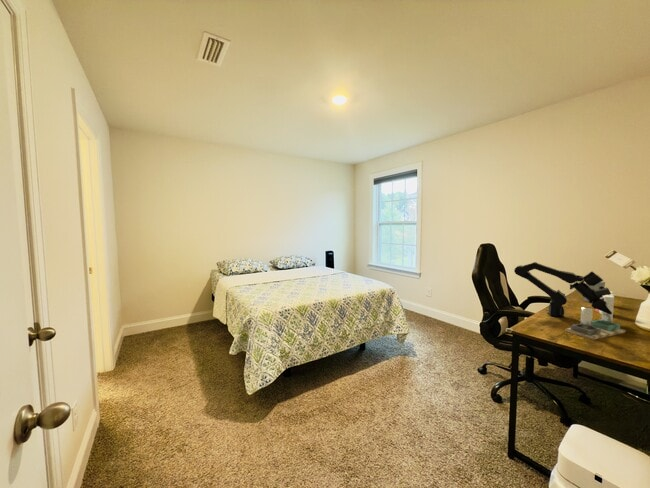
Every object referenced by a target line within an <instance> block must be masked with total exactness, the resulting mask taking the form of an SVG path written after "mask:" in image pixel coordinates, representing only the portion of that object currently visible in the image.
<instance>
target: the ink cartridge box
mask: <svg viewBox="0 0 650 488" xmlns="http://www.w3.org/2000/svg"><path fill="white" fill-rule="evenodd" d="M609 291H610V293H611V294H610V295H604V296H603V297H601V298H600V299H602V298H604V301H608V302H613V303H614V305H615V292H614V291H611V290H609ZM614 305H613V310H615V309H614V308H615V306H614ZM594 312H597V313H599V314H600V315H602V311H601V310H598V309H594Z"/></svg>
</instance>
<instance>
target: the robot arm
mask: <svg viewBox="0 0 650 488" xmlns="http://www.w3.org/2000/svg"><path fill="white" fill-rule="evenodd" d="M533 270H537V271H539V272H543V273H544V274H545V273H546V274H547V275H548V274H549V275H551V276H554V277H556V278H558V279H560V280H562V281H564V282H565V283H567V284H569V289H570V290H572V289H574V290H576V291H577V292H578V293H579V294H580V295H581V296H582V297H583V298H584V297H585V298H586V299H587V300H588V301H589V302H590V303H589V302H588V303H589V304H590V305H591V308H592V309H593V310H595V309H598V310H601V311H603V312H606V313H608V314H610V315H611V314H612V312H611V311H610V310H609V309H608V307H607V306H606V301H604V298H602V299H600V298H601V297H603V296H604V295H610V294H611V293H610V291H611V290H610V289H609V287H603V286H601V287H599V289H597V290H594V289H591V288H590V287H589V286H595V285H597V284H598V283H600V282H604V280H603V278H602V277H601V276H600V275H598V274H597V273H595V272H594V271H590V272H588V273H587V274H586V275H584V276H583V275H579V274H575V273H574V272H570V271H565V270H564V271H563V270H559V269H556V268H552V267H549V266H546V265H545V264H544V265H543V264H540V263H538V262H536V261H535V262H531V263H528V264H525V265H521V264H520V265H517V266H515V268H514V273H515V275H516V276H519V277H521V278H523V279H526V280H528V282H530V283H531V284H533V285H534V286H536V287H537V288H538V289H540V290H541V291H542V292H544V293H545V294H546V295H547V296H548V297H549V298H550V299H551V300H550V301H549V304H548V312H547V315H549V316H550V317H555V318H565V309H564V305H566V304H567V302H568V298H567V296H566V294H565V293H564V292H562V291H561V290H560V289H558V290H555V289H553V288H552V287H550V286H549V285H547V284H546V283H545V282H542V280H540V279H539V278H537V276H534V275H533V274H532V273H531V272H530V271H533ZM586 283H587V284H588V285H589V286H588V285H586Z"/></svg>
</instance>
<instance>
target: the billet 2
mask: <svg viewBox="0 0 650 488" xmlns="http://www.w3.org/2000/svg"><path fill="white" fill-rule="evenodd" d="M613 305H615V302H614V303H613V302H608V301H606V306H607V307H608V309H609V310H610V311H611V312H612V314H611V315H610V314H608V313H606V312H603V311H602V314H601V318H600V319H601V320H604V321H608V322H612V323H613V316H614V309H613Z"/></svg>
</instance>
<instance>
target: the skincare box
mask: <svg viewBox="0 0 650 488" xmlns="http://www.w3.org/2000/svg"><path fill="white" fill-rule="evenodd" d="M585 284H586V285H588V284H587V283H586V282H585ZM588 286H589V285H588ZM601 286H603V287H604V288H606V287H605V286H606V282H605V281H602V282H600V283H598V284H597V285H595V286H589V287H590V288H591V289H594V290H597V289H599V287H601ZM582 300H583V302H585V303H589V304H591V303H590V302H589V301H588V300H587V299H586V298H585V297H583V299H582Z"/></svg>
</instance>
